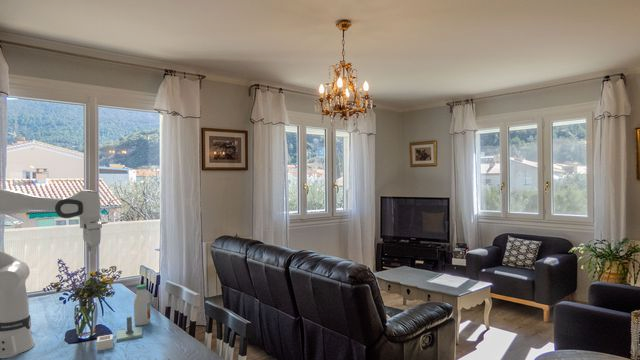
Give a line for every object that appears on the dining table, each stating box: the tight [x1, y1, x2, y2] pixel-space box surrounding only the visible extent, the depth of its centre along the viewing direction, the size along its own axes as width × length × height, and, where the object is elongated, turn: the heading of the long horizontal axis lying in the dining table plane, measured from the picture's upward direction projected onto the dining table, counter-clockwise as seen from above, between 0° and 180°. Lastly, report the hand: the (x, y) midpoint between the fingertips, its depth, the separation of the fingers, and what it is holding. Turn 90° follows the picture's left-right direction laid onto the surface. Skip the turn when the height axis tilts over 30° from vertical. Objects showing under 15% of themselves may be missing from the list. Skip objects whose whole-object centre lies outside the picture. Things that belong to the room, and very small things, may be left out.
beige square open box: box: [96, 333, 114, 352], centre depth 182 cm, size 6×6×4 cm
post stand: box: [116, 316, 143, 342], centre depth 194 cm, size 11×11×9 cm
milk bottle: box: [133, 284, 151, 327], centre depth 209 cm, size 8×8×20 cm
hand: (91, 252), depth 191 cm, fingers open, 8 cm apart
